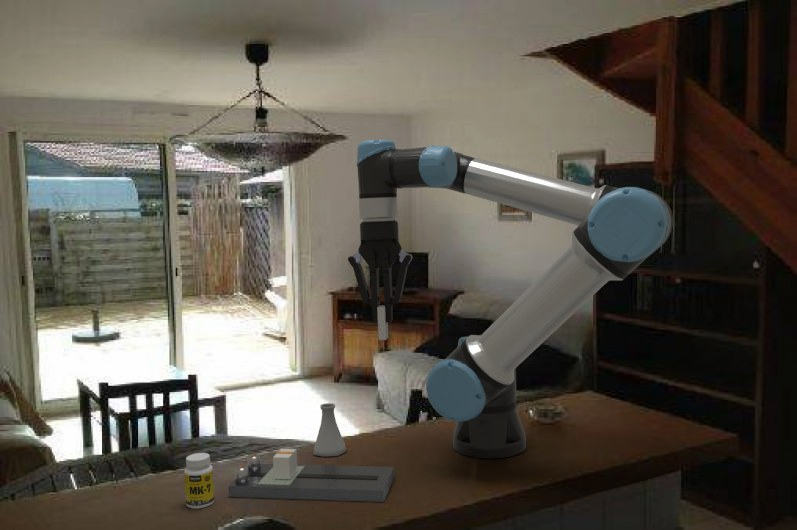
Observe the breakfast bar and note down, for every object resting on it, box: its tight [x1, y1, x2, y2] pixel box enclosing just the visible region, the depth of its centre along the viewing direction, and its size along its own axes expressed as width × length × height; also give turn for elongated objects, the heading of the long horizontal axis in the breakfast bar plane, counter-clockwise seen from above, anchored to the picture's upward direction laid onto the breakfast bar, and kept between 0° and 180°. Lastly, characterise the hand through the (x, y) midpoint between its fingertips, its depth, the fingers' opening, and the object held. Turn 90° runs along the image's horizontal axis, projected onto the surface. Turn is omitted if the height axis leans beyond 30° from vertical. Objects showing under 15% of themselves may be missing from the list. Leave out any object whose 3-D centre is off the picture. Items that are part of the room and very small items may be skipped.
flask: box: [312, 402, 347, 458], centre depth 143 cm, size 7×7×10 cm
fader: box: [272, 448, 298, 479], centre depth 126 cm, size 3×4×4 cm
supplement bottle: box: [184, 452, 215, 510], centre depth 119 cm, size 5×5×8 cm
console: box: [228, 453, 395, 503], centre depth 125 cm, size 28×11×5 cm, turn 81°
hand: (383, 338), depth 137 cm, fingers closed
